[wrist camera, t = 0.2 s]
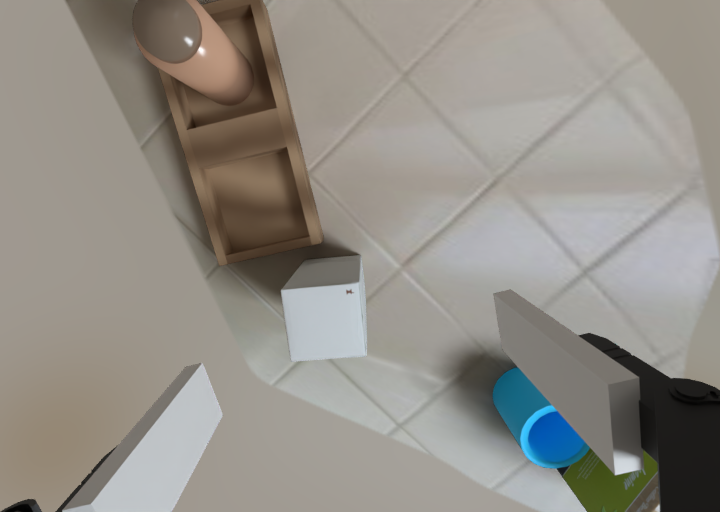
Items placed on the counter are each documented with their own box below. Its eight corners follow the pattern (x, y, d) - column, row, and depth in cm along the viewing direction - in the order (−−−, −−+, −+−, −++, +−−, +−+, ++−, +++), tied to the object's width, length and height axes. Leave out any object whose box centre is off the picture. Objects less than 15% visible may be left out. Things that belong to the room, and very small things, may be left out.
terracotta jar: (192, 54, 37) (112, -10, 25) (245, 41, 37) (189, -31, 25) (209, 111, 38) (140, 75, 26) (260, 99, 38) (214, 56, 26)
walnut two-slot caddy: (163, 36, 37) (142, 20, 34) (266, 8, 37) (257, -10, 33) (231, 259, 42) (219, 266, 39) (324, 238, 42) (320, 243, 38)
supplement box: (303, 258, 42) (278, 286, 30) (362, 253, 42) (362, 280, 30) (309, 314, 44) (288, 363, 31) (366, 310, 43) (368, 358, 31)
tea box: (669, 436, 47) (809, 547, 32) (625, 490, 48) (738, 619, 34) (579, 388, 45) (682, 482, 31) (537, 446, 47) (615, 560, 32)
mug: (503, 428, 46) (532, 477, 38) (484, 378, 45) (510, 418, 37) (588, 399, 46) (636, 443, 38) (571, 346, 44) (618, 381, 36)
